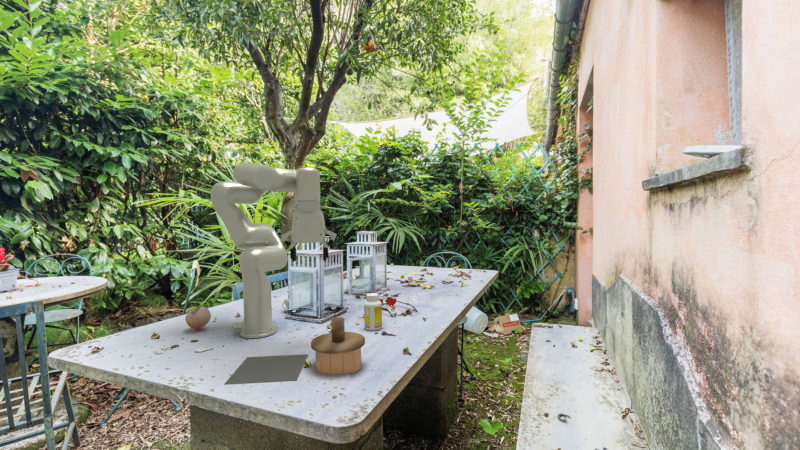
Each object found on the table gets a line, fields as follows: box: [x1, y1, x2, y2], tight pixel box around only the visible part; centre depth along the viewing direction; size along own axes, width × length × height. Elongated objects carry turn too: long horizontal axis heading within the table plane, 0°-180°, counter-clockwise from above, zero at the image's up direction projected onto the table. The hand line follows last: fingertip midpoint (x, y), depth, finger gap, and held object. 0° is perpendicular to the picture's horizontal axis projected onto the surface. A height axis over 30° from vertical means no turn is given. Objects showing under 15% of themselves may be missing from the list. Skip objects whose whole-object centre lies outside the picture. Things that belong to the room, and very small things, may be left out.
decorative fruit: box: [185, 303, 212, 331], centre depth 141 cm, size 9×8×10 cm
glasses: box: [378, 296, 418, 318], centre depth 164 cm, size 14×16×5 cm
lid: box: [310, 316, 366, 354], centre depth 104 cm, size 15×15×7 cm
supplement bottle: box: [363, 292, 383, 332], centre depth 139 cm, size 7×7×13 cm
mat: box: [223, 353, 309, 386], centre depth 103 cm, size 18×18×1 cm
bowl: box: [315, 347, 362, 375], centre depth 105 cm, size 12×12×6 cm
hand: (309, 260), depth 119 cm, fingers open, 9 cm apart
